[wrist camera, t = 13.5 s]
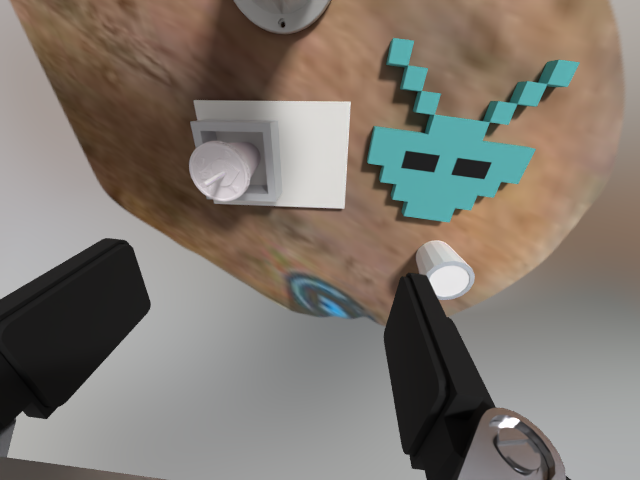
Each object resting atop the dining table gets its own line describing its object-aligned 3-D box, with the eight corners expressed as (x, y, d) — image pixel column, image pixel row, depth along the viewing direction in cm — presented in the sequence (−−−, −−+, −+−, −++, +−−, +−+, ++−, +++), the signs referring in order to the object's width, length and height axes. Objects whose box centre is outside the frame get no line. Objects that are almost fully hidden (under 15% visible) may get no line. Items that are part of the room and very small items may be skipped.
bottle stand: (197, 100, 33) (175, 100, 29) (350, 101, 32) (351, 102, 28) (217, 201, 40) (201, 213, 36) (344, 206, 39) (344, 219, 35)
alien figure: (390, 42, 29) (357, 204, 39) (393, 38, 27) (358, 209, 37) (564, 64, 29) (487, 222, 39) (579, 62, 27) (495, 228, 37)
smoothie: (274, 176, 37) (240, 216, 24) (231, 180, 37) (178, 220, 25) (264, 128, 34) (220, 145, 21) (218, 133, 34) (150, 153, 22)
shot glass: (451, 231, 40) (471, 255, 33) (458, 265, 42) (478, 293, 36) (407, 244, 41) (418, 269, 35) (416, 276, 44) (428, 305, 38)
